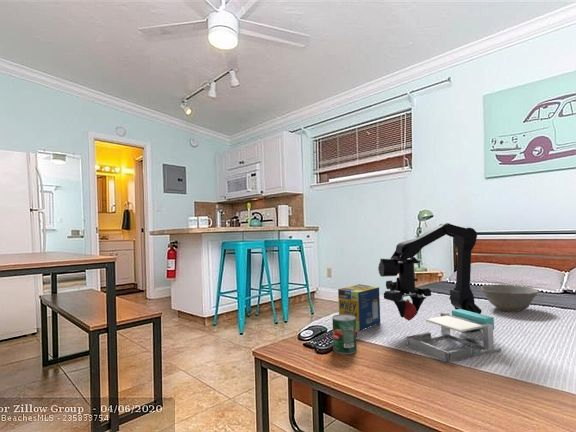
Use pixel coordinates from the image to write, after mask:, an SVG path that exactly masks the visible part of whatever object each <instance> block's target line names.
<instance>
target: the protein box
mask: <svg viewBox="0 0 576 432" xmlns="http://www.w3.org/2000/svg"><path fill="white" fill-rule="evenodd" d="M337 292H338V293H337V294H338V296H337V297H338V315H339V314H348V315H353V316H355V317H356V332H361V330H362V331H364V330H366V329H365V328H367V329H369V328H371V327H370V326H372V327H374V326H373V325H375V324H377V325H379V324H378V323H380V324H381V302H380V299H381V298H380V287H379V286H378V287H377V286H374V285H366V284H356V285H351V286H348V287H343V288H338V290H337ZM375 326H376V325H375ZM368 327H369V328H368ZM363 329H364V330H363Z"/></svg>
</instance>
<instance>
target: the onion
mask: <svg viewBox="0 0 576 432" xmlns="http://www.w3.org/2000/svg"><path fill="white" fill-rule="evenodd" d="M405 300H406V305H405V314H404V317H403V318H404V319H405V320H406V321H411V320H412V319H414V318H415V317H416V316H417V315H416V308H415V306H414V305H413V304H412V301H410V299H408V298H407V299H405Z"/></svg>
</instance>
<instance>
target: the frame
mask: <svg viewBox="0 0 576 432" xmlns="http://www.w3.org/2000/svg"><path fill="white" fill-rule="evenodd" d="M439 314H440V317H441V316H446V315H447V314H449V315H450V312H446V311H445V312H440V313H439ZM482 327H483V330H482V340H478V339H475V338H472V337H470V336H466V335H463V334H460V333H458V332H455V331H451V329H449V328H446V327H443V326H440V329H441V330H440V331H441V332H440V333H441V334H440V335H439V334H438V335H433V336H432V333H431V332H429V331H428V332H424V333H423V332H422V333H419V334H413V335H409V336H406V344H407V345H406V346H407V347H409V348H412V349H415V350H417V351H418V352H419V351H420V352H422V353H424V354H426V355H428V356H430V357H432V358H435V359H438V360H440V361H442V362H443V363H446V364H452V363H455V362H460V361H462V360H463V361H464V360H467V359H471V358H472V359H475V358H478V357H482V356H485V355H492V354H496V353H500V352H502V347H500V346H497V345H495V344H494V343H495V342H494V330H493V325H491V324H483V325H482ZM443 338H444V339H451V338H452V339H451V340H454V341H458V342H461V343H463V344H466V345H468V344H469V346H465V347H461V348H458V349H453V350H448V351H447V350H445V349H443V348H440V347H437V346H434V345H432V344H430V343H431V342H434V340H435V341H439V340H444V339H443ZM438 339H439V340H438ZM471 345H472V346H471ZM474 346H475V347H474ZM472 347H474V348H477V349H479V350H477V351H473V352H472Z"/></svg>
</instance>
